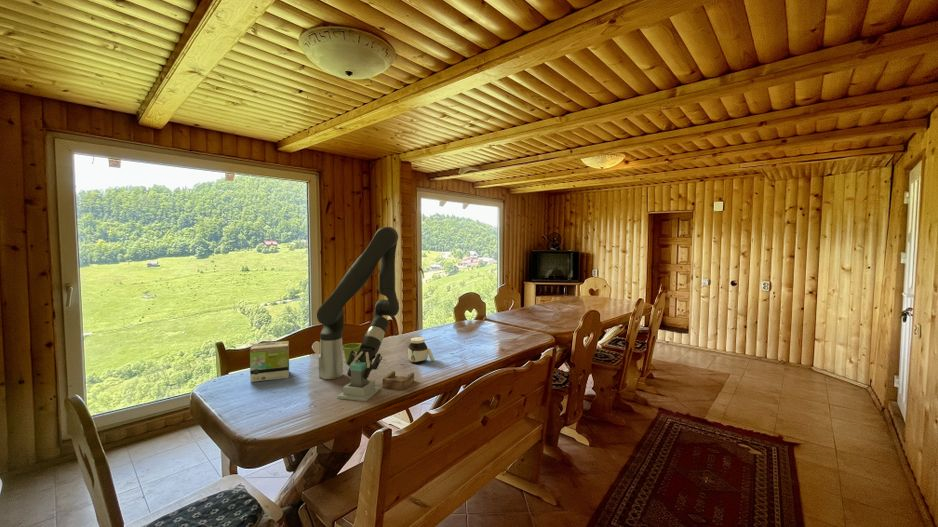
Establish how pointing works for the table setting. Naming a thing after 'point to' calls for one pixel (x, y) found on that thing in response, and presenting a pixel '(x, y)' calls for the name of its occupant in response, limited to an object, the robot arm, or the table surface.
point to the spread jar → (419, 351)
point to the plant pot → (350, 349)
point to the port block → (359, 391)
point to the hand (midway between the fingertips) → (356, 377)
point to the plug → (358, 374)
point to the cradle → (397, 381)
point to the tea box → (269, 361)
